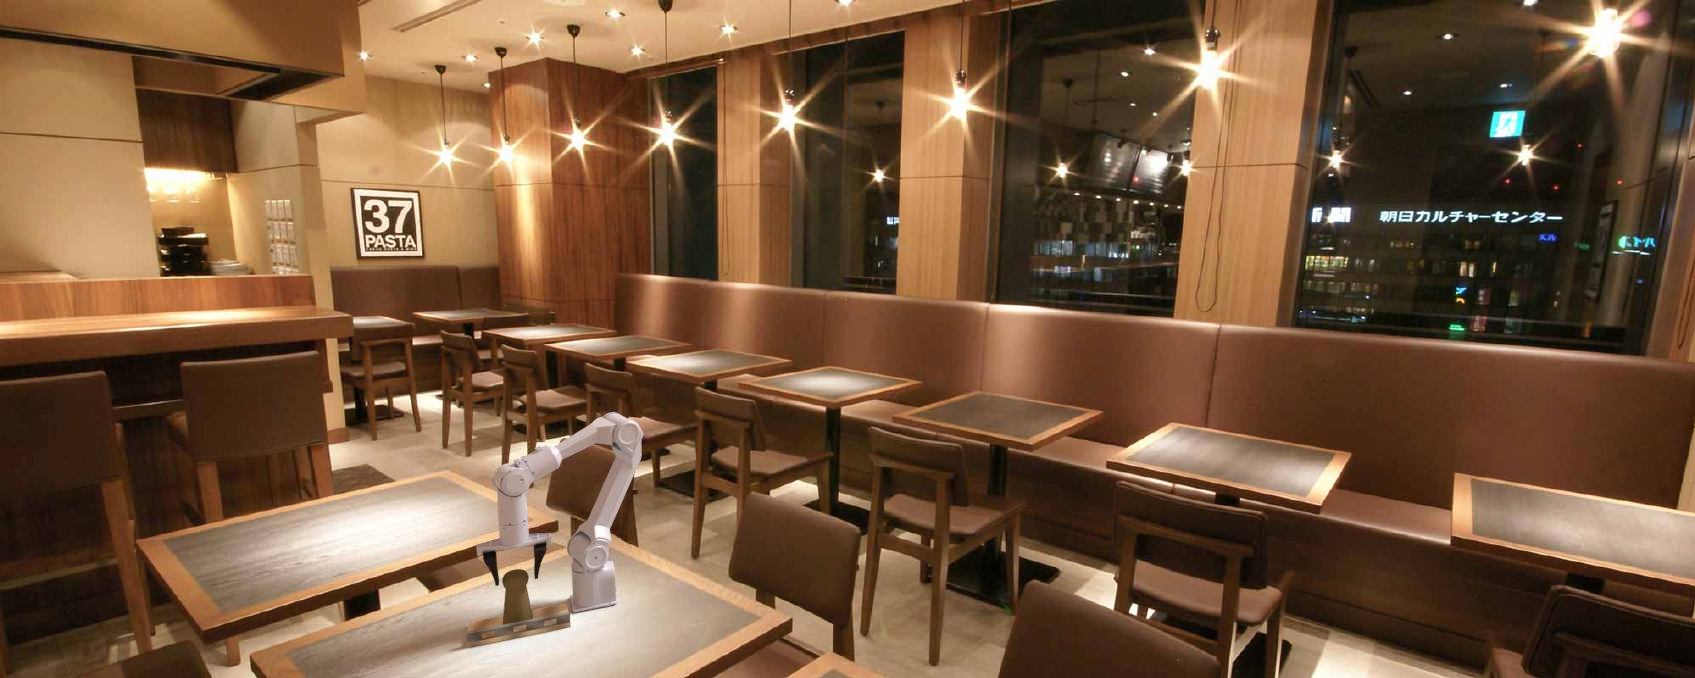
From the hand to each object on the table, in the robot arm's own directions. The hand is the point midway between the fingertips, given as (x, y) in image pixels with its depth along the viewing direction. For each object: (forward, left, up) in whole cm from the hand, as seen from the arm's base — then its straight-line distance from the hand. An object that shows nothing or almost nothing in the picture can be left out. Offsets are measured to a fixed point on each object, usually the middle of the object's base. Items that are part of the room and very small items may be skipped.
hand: (517, 580), depth 160 cm
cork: (0, -1, -10) cm, 10 cm away
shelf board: (0, +1, -10) cm, 10 cm away
